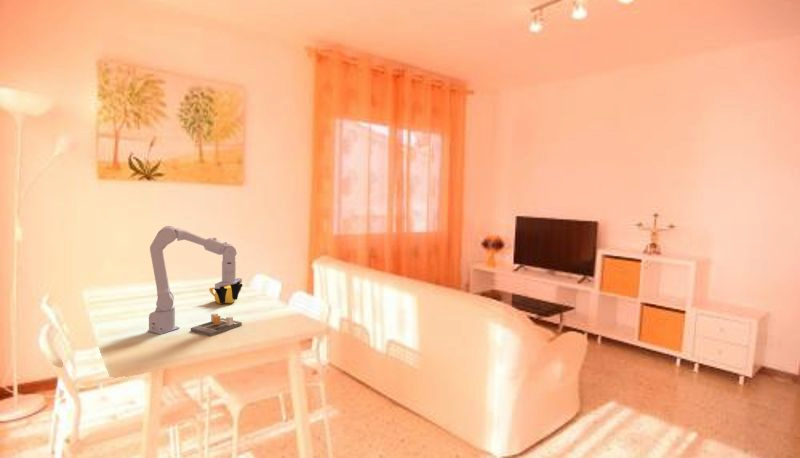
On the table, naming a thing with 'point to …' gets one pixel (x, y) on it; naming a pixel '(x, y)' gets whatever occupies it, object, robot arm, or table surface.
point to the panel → (216, 326)
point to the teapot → (228, 295)
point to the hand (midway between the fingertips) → (228, 301)
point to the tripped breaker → (216, 320)
